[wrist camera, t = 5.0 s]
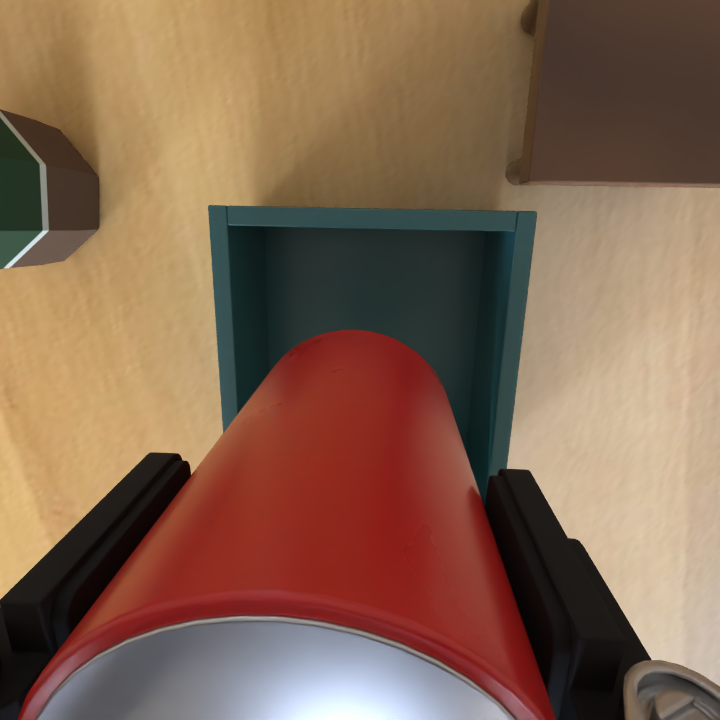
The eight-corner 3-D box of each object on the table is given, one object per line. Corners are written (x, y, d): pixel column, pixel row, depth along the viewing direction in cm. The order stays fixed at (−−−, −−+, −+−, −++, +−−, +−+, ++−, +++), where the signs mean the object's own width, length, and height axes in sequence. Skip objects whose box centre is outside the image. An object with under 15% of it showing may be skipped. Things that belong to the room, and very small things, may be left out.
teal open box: (253, 211, 26) (207, 205, 19) (499, 215, 25) (537, 211, 19) (262, 448, 30) (227, 509, 23) (475, 457, 29) (500, 523, 23)
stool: (514, -5, 22) (558, -86, 17) (707, -6, 22) (820, -90, 16) (495, 192, 25) (528, 181, 19) (668, 195, 24) (755, 184, 19)
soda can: (253, 325, 14) (-62, 579, 4) (457, 332, 13) (640, 623, 4) (262, 500, 15) (56, 967, 6) (442, 510, 15) (540, 1017, 6)
